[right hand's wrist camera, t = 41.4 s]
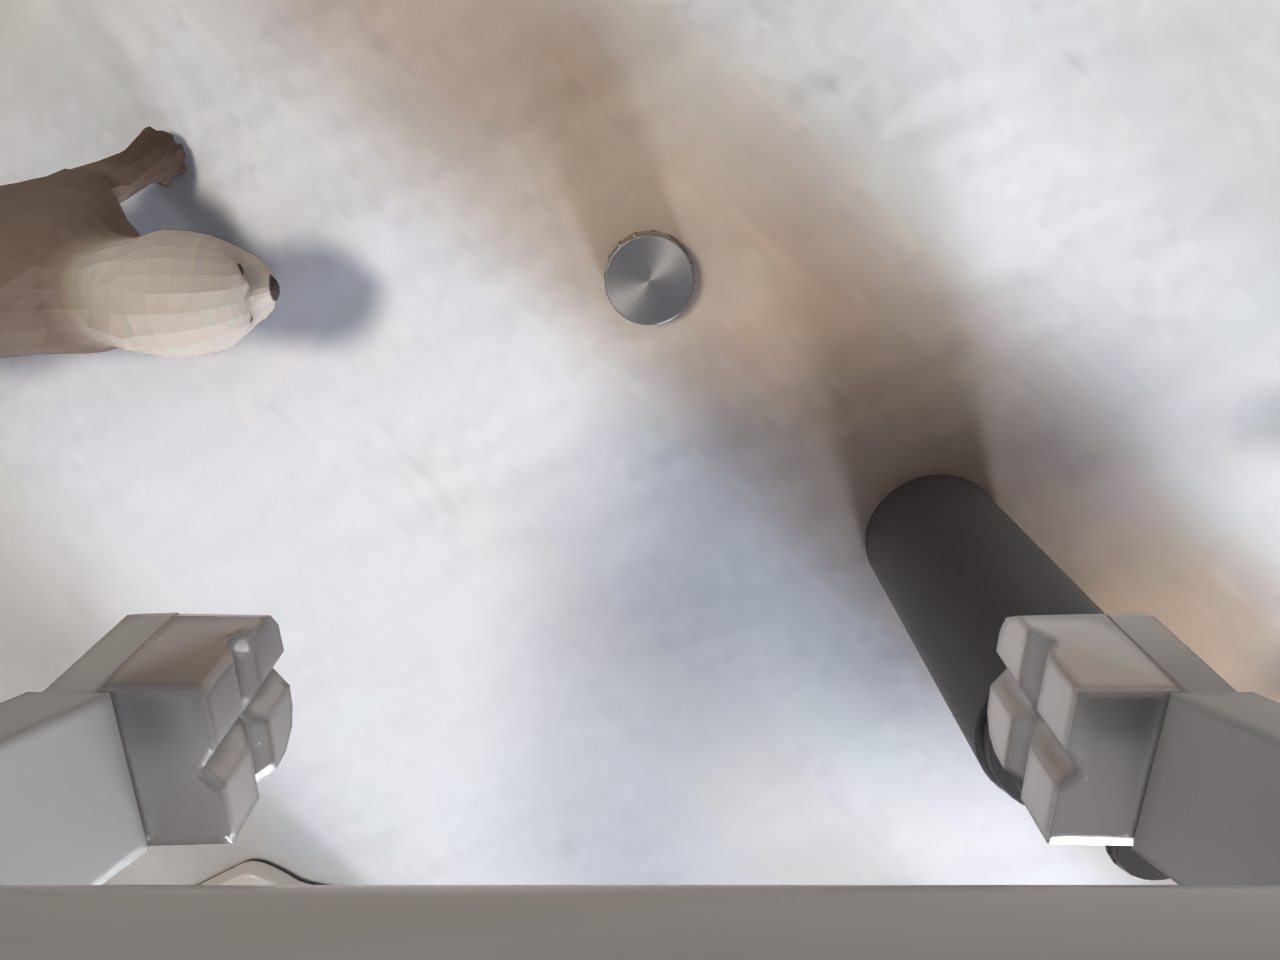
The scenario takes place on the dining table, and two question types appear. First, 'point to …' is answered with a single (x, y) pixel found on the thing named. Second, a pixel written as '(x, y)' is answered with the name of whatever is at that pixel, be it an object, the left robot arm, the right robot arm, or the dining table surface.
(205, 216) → the dining table surface
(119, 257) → the toy
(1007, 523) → the bottle
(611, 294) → the cap
